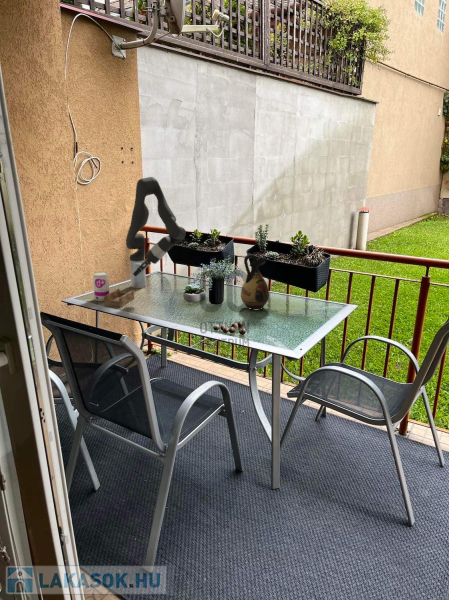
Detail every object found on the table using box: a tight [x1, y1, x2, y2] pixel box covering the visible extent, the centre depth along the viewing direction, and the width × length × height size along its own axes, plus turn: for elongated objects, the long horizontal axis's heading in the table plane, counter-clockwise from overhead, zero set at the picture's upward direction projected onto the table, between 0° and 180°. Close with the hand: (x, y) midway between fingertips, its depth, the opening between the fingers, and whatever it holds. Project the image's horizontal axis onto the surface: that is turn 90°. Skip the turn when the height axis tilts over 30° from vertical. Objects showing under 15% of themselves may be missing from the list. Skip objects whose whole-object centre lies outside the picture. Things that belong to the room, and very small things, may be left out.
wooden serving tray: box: [103, 288, 135, 308], centre depth 249 cm, size 16×10×5 cm, turn 165°
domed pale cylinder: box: [133, 262, 144, 283], centre depth 245 cm, size 6×6×10 cm
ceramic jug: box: [240, 253, 270, 309], centre depth 239 cm, size 17×15×30 cm
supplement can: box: [92, 271, 110, 302], centre depth 252 cm, size 8×8×15 cm
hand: (135, 273), depth 245 cm, fingers closed on domed pale cylinder, 5 cm apart
